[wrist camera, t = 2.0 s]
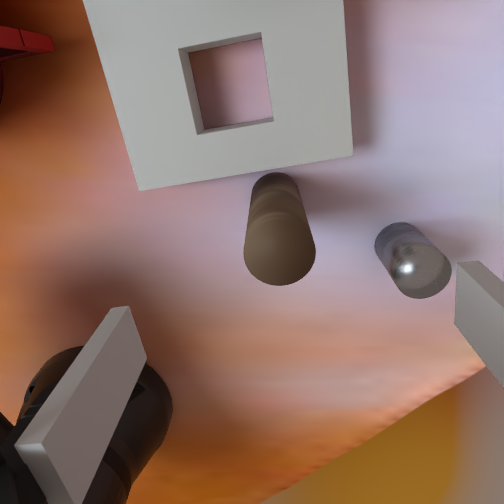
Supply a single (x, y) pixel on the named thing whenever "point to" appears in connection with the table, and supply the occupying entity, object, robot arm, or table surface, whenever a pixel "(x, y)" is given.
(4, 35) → the mug
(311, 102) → the socket block
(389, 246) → the cylinder
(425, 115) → the table surface
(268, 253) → the walnut dowel
